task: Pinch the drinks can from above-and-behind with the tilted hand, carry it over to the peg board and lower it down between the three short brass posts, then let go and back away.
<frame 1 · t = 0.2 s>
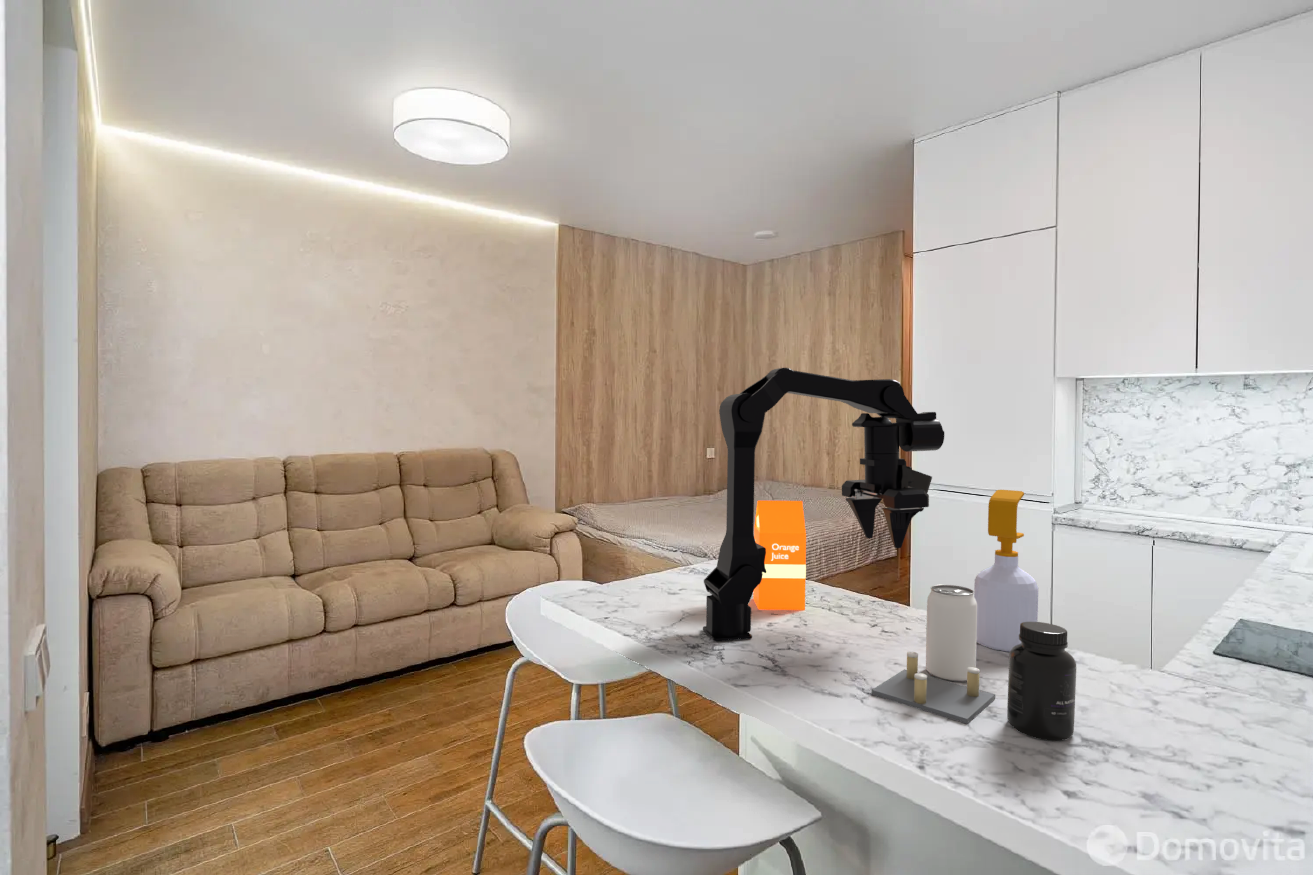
hand: (883, 542, 117), 14 cm above the counter, tool pointing down, fingers open, 9 cm apart
soap bottle: (1004, 644, 108), on the counter
supplement bottle: (1039, 730, 79), on the counter
can: (950, 675, 96), on the counter
orange juice: (778, 605, 130), on the counter
peg board: (934, 695, 88), on the counter
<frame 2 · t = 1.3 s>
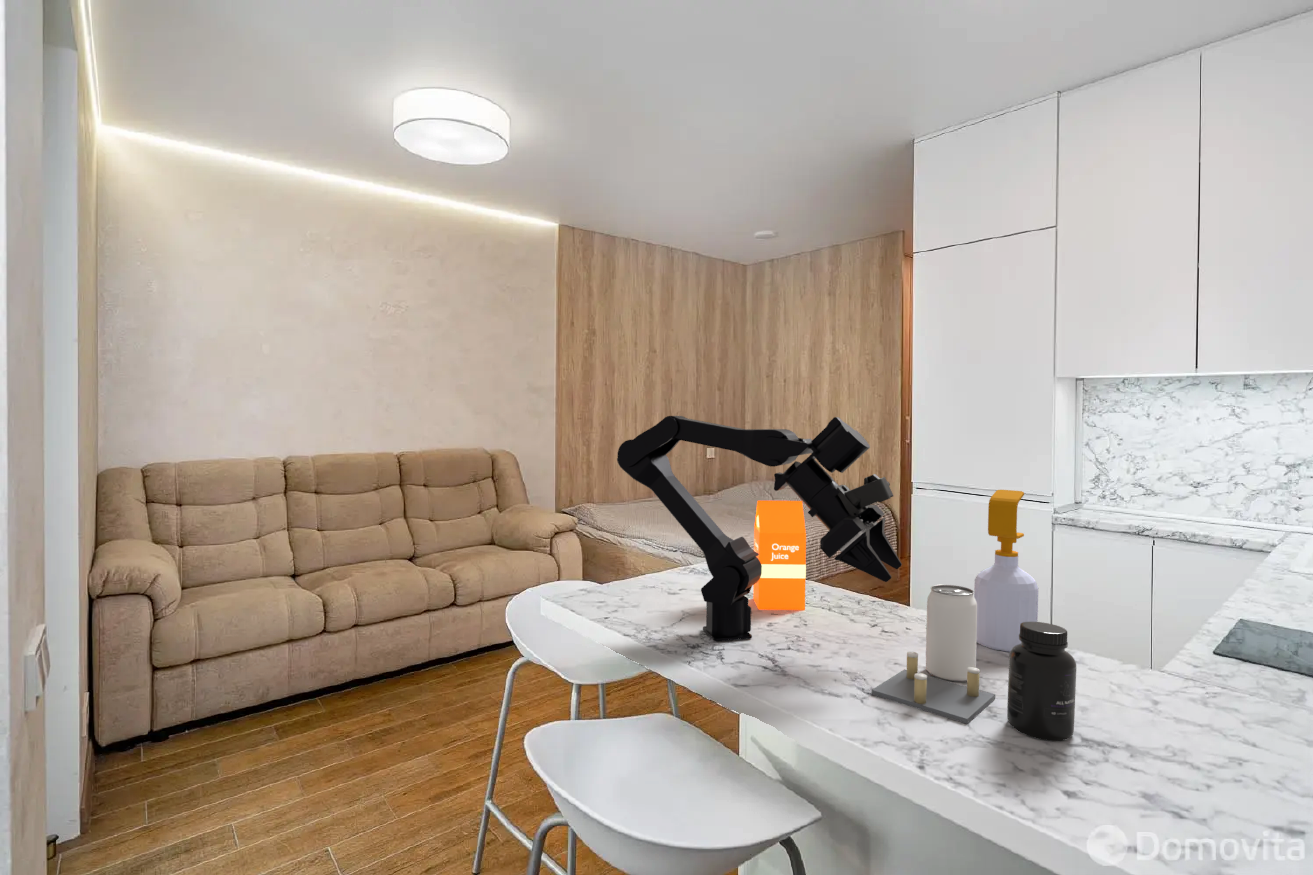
hand: (894, 573, 99), 13 cm above the counter, tool tilted 45°, fingers open, 9 cm apart
nothing on the counter moved.
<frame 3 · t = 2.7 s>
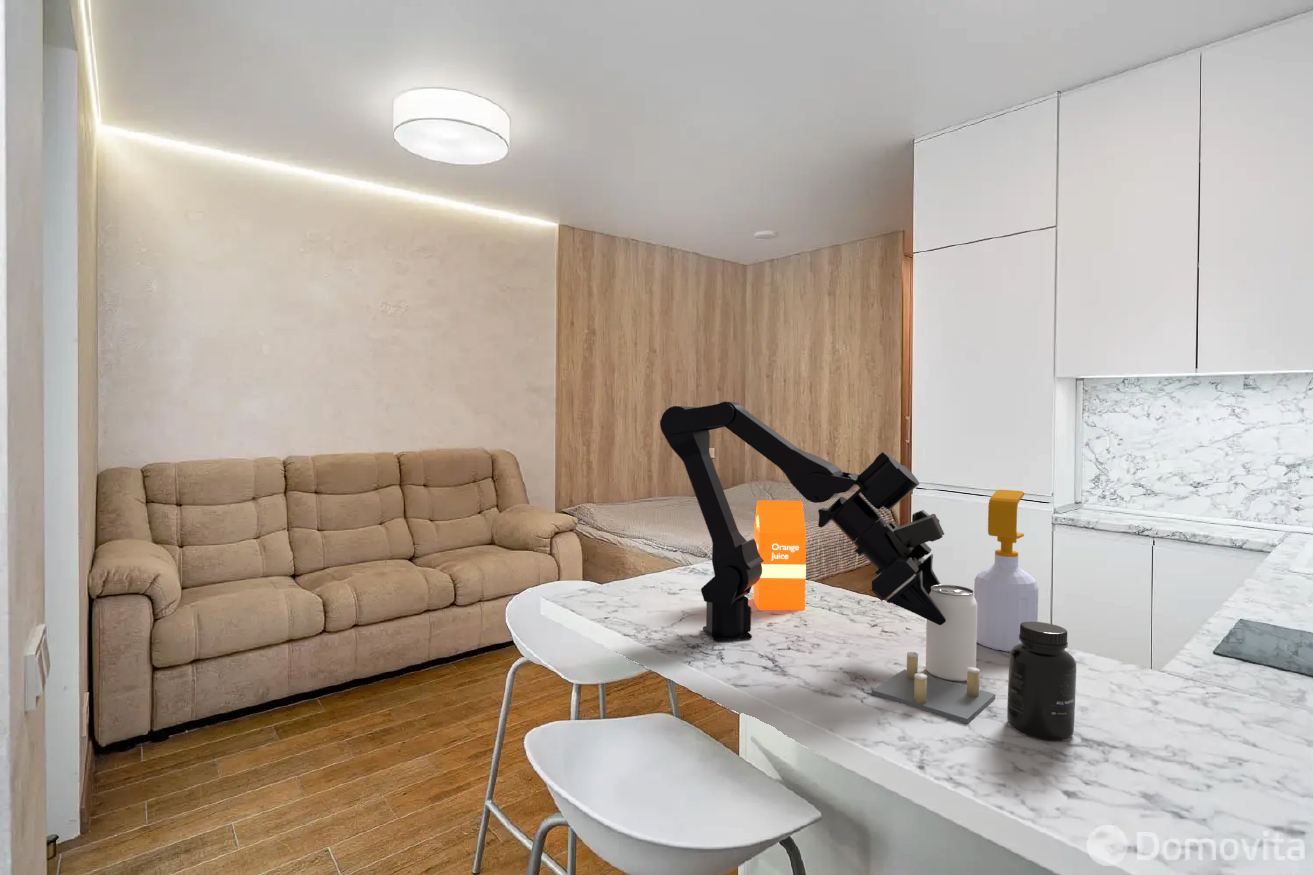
hand: (946, 614, 96), 8 cm above the counter, tool tilted 45°, fingers open, 9 cm apart
nothing on the counter moved.
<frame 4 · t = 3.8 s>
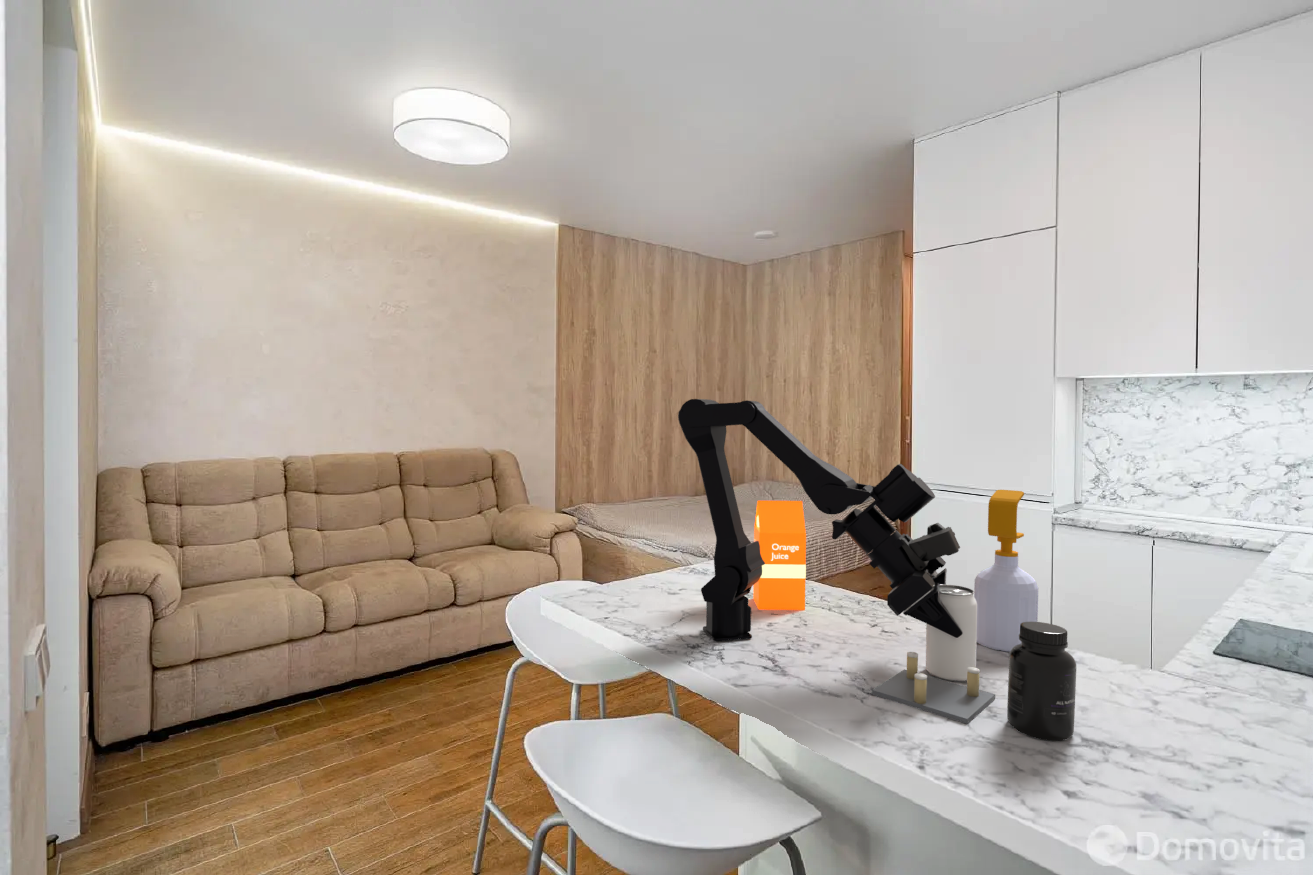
hand: (962, 628, 95), 7 cm above the counter, tool tilted 45°, fingers closed on can, 6 cm apart
can: (950, 674, 96), on the counter, touching gripper
everything else where it was.
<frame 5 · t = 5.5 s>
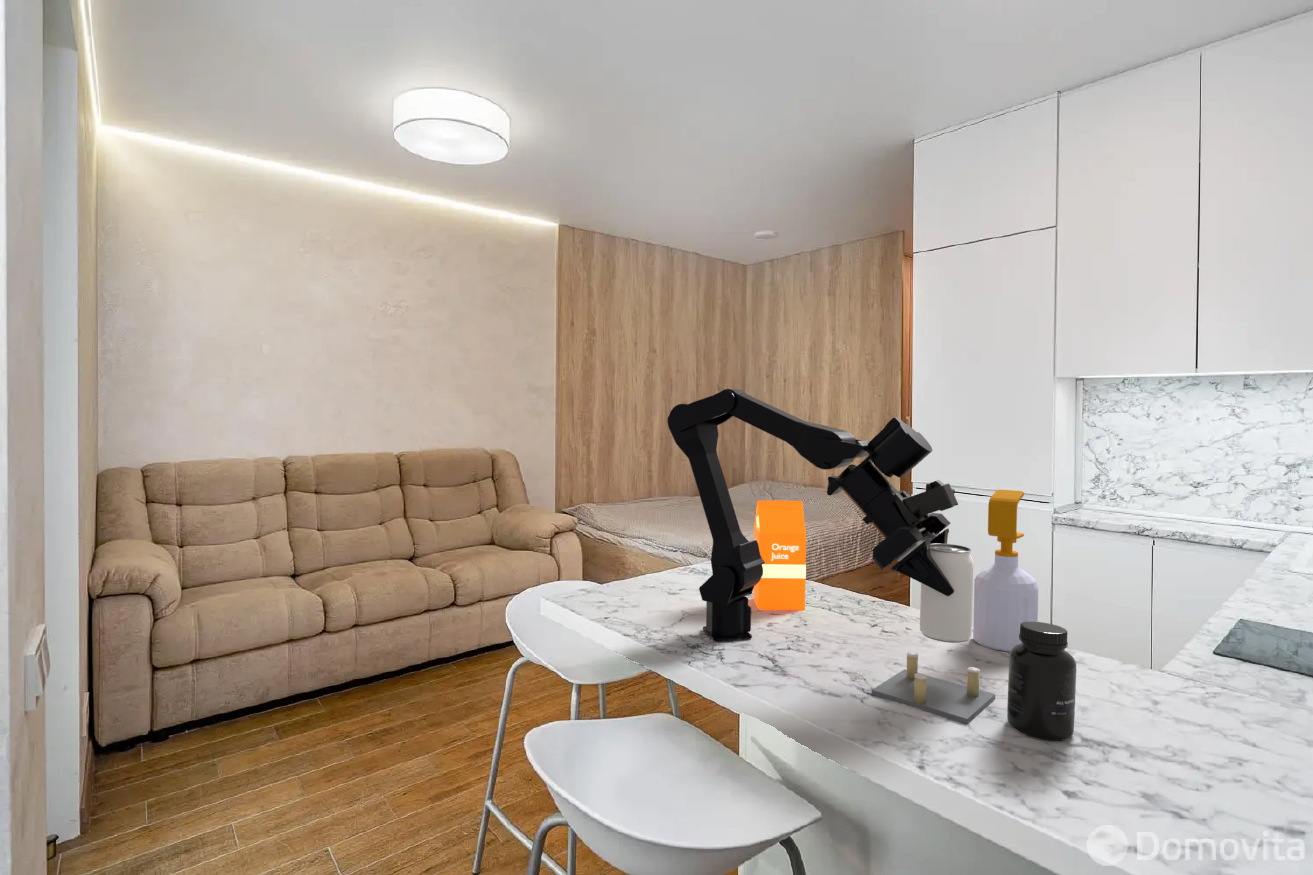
hand: (957, 588, 91), 13 cm above the counter, tool tilted 45°, fingers closed on can, 6 cm apart
can: (945, 636, 92), point 6 cm above the counter, touching gripper
everything else where it was.
when the fingers open (8 cm above the counter, at t = 7.4 s): can drops 1 cm, resting on peg board.
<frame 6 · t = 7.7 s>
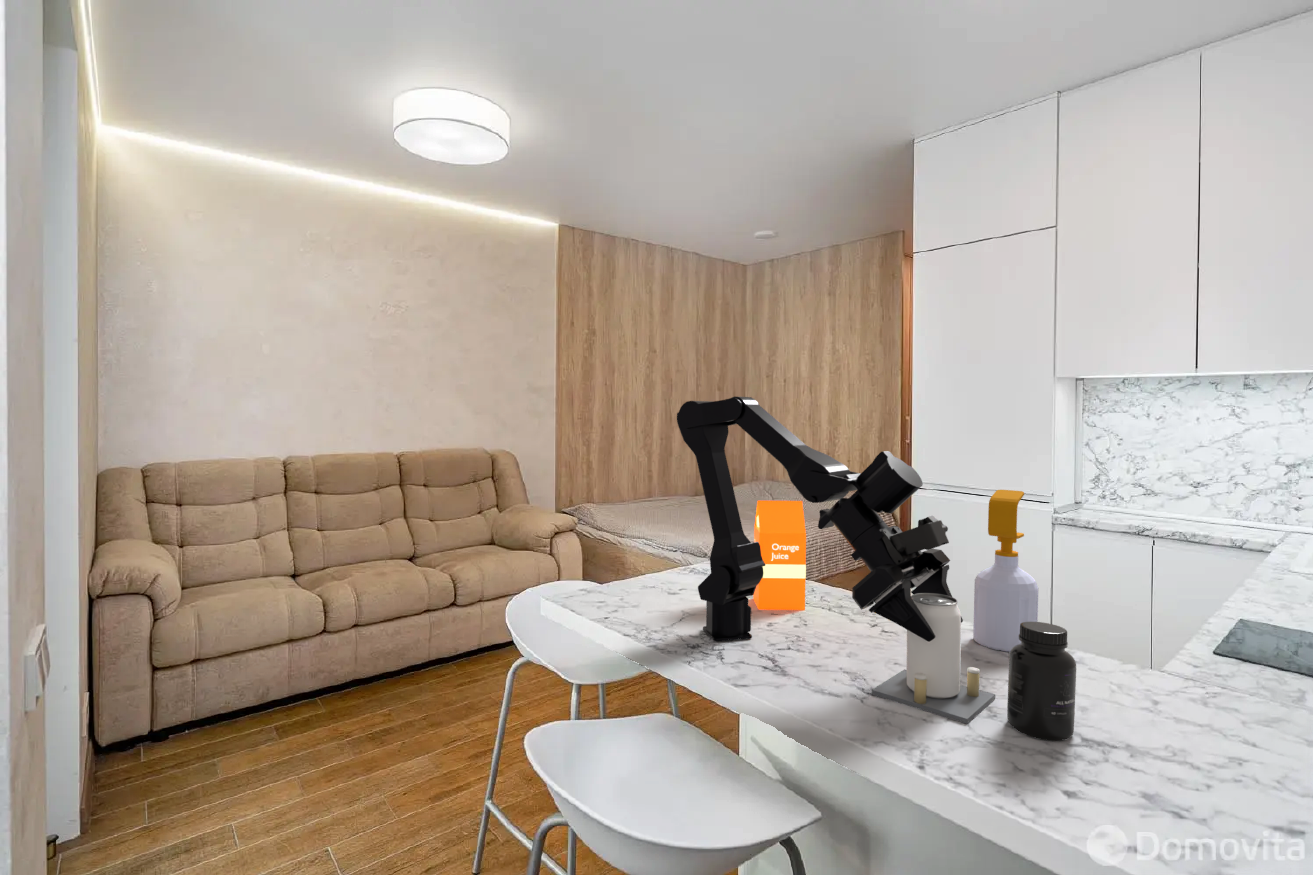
hand: (946, 631, 87), 9 cm above the counter, tool tilted 45°, fingers open, 9 cm apart
can: (932, 691, 88), resting on peg board
everything else where it was.
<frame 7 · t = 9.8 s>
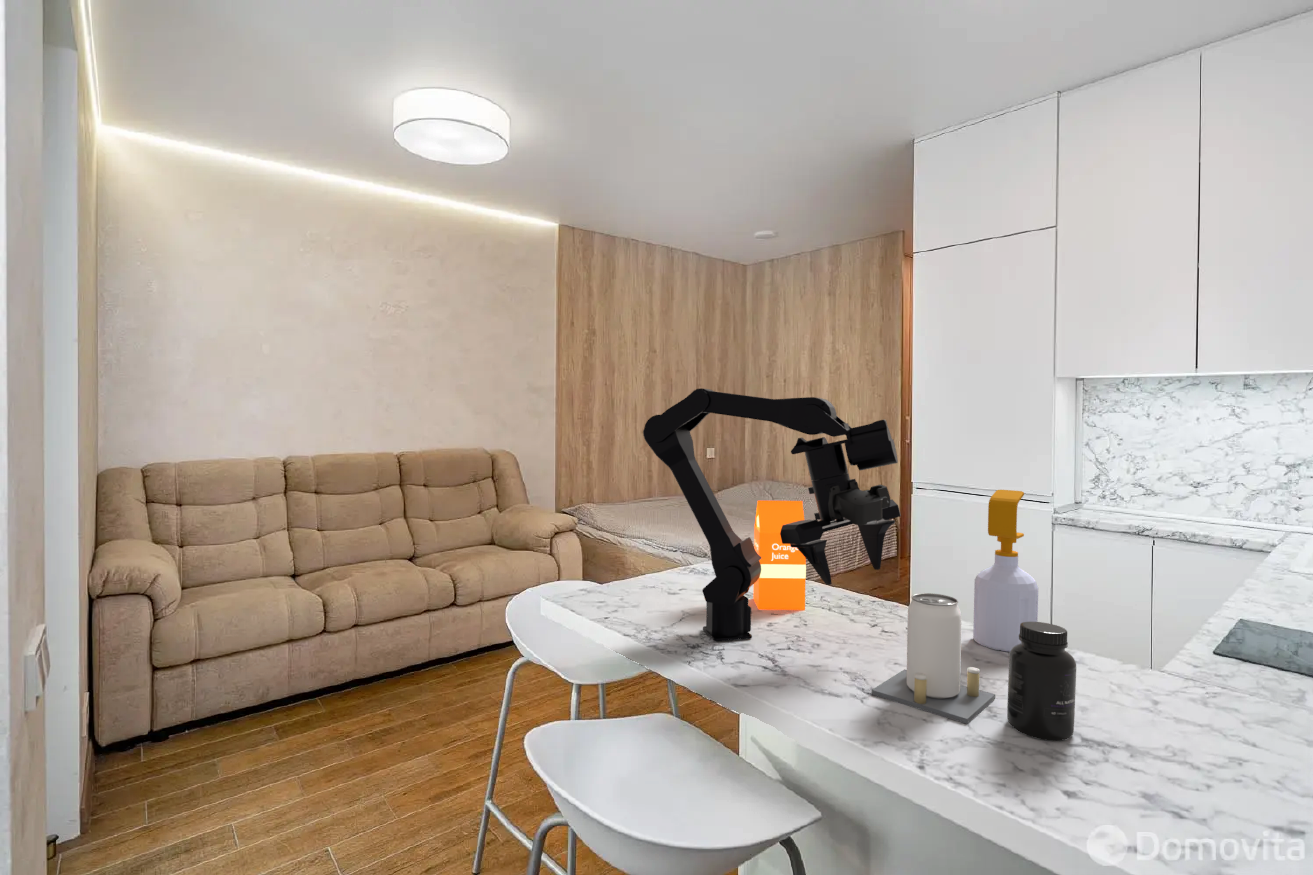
hand: (853, 576, 103), 12 cm above the counter, tool pointing down, fingers open, 9 cm apart
nothing on the counter moved.
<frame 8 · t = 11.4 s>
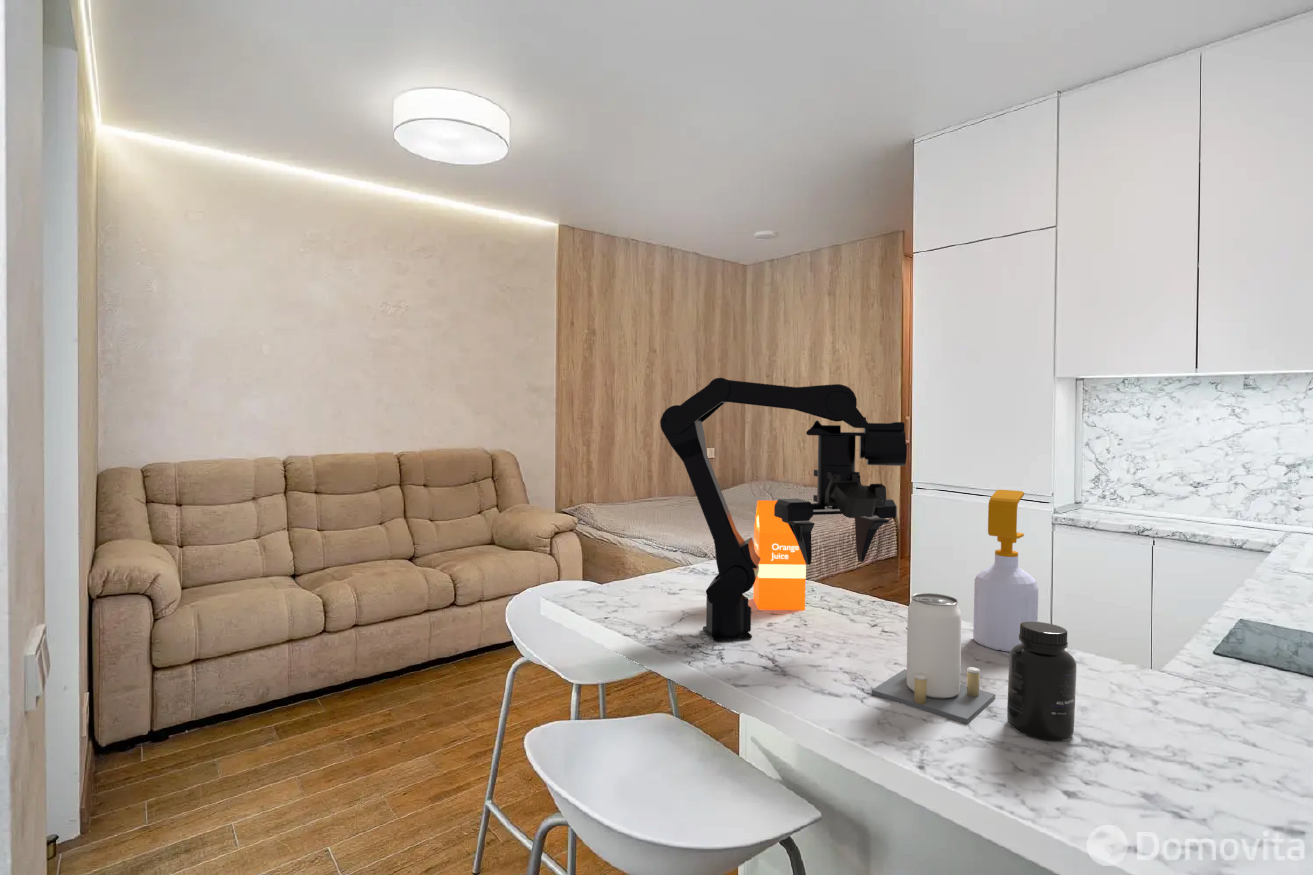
hand: (834, 562, 107), 13 cm above the counter, tool pointing down, fingers open, 9 cm apart
nothing on the counter moved.
at the end: can 0.3 cm from the peg board (horizontally); can tilted 0°; can resting on peg board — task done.
